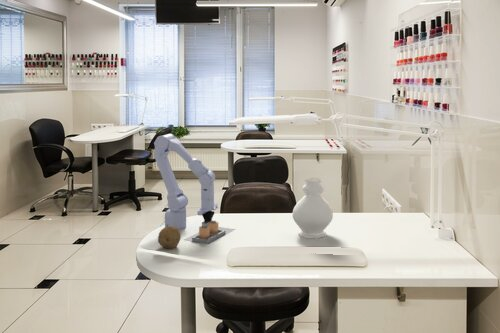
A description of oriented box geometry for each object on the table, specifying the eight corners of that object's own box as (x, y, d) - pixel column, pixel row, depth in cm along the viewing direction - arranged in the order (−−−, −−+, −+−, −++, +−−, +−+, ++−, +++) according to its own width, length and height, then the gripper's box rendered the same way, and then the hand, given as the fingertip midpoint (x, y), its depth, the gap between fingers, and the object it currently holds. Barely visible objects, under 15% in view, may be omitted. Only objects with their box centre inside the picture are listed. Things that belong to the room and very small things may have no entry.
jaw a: (197, 240, 222) (197, 226, 221) (202, 237, 226) (202, 224, 225) (206, 242, 220) (206, 227, 219) (211, 239, 224) (211, 225, 223)
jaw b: (206, 235, 229) (206, 222, 228) (211, 232, 233) (211, 219, 232) (215, 236, 228) (215, 223, 227) (220, 234, 232) (220, 220, 231)
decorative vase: (330, 241, 226) (332, 184, 222) (289, 238, 230) (290, 182, 225) (333, 229, 243) (335, 176, 239) (295, 227, 247) (296, 175, 242)
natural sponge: (167, 255, 208) (166, 230, 206) (153, 250, 214) (153, 226, 212) (185, 249, 214) (184, 226, 212) (171, 245, 220) (170, 222, 218)
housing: (183, 242, 223) (183, 235, 223) (211, 228, 245) (211, 221, 244) (208, 246, 218) (208, 239, 218) (235, 231, 239) (235, 224, 239)
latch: (201, 231, 236) (201, 222, 236) (205, 229, 239) (205, 220, 238) (205, 231, 235) (205, 222, 235) (209, 229, 238) (209, 221, 237)
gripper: (207, 202, 228) (207, 232, 231) (223, 195, 241) (223, 224, 244) (193, 200, 231) (193, 230, 234) (209, 194, 244) (210, 222, 247)
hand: (207, 227), depth 239 cm, fingers closed, pressing on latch
